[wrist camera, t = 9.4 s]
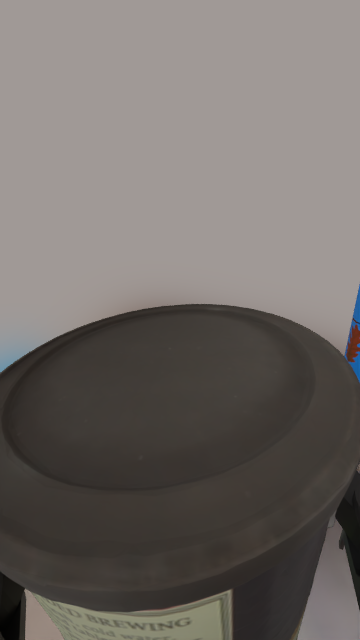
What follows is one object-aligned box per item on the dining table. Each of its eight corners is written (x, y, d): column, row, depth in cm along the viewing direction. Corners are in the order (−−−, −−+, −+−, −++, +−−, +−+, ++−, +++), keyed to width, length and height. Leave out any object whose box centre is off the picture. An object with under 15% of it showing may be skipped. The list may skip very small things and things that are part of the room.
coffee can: (238, 454, 17) (240, 294, 12) (357, 723, 7) (601, 457, 2) (116, 481, 16) (65, 316, 11) (65, 843, 6) (-554, 795, 1)
